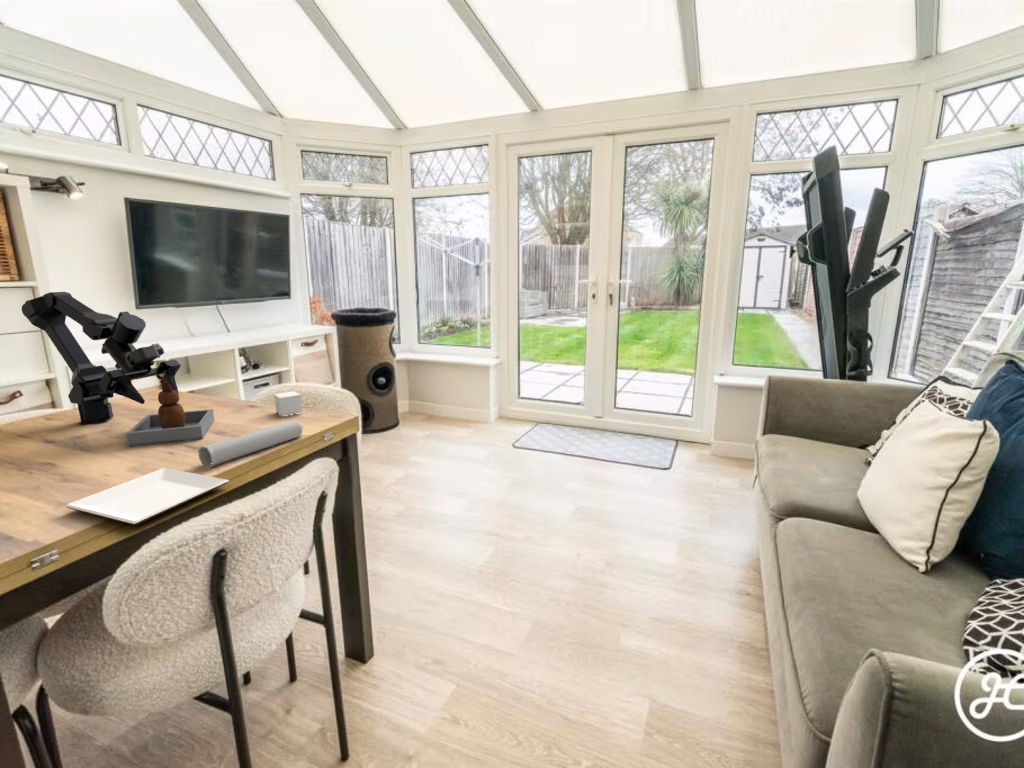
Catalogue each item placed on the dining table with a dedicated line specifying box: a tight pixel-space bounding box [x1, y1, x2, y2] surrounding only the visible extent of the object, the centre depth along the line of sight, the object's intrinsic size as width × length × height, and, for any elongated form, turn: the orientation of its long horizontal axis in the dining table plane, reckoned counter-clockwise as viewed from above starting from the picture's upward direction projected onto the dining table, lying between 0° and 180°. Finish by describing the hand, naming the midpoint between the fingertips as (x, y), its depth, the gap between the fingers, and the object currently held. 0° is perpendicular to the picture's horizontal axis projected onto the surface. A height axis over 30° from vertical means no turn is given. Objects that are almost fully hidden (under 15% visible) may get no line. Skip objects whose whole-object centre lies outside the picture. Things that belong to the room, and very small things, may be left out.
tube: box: [197, 420, 304, 469], centre depth 122 cm, size 5×5×25 cm
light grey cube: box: [273, 390, 303, 417], centre depth 152 cm, size 6×6×6 cm
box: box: [125, 408, 215, 448], centre depth 135 cm, size 16×17×4 cm
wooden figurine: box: [157, 376, 185, 429], centre depth 133 cm, size 7×6×15 cm
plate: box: [65, 467, 230, 526], centre depth 96 cm, size 19×19×2 cm
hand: (161, 398), depth 134 cm, fingers open, 9 cm apart
